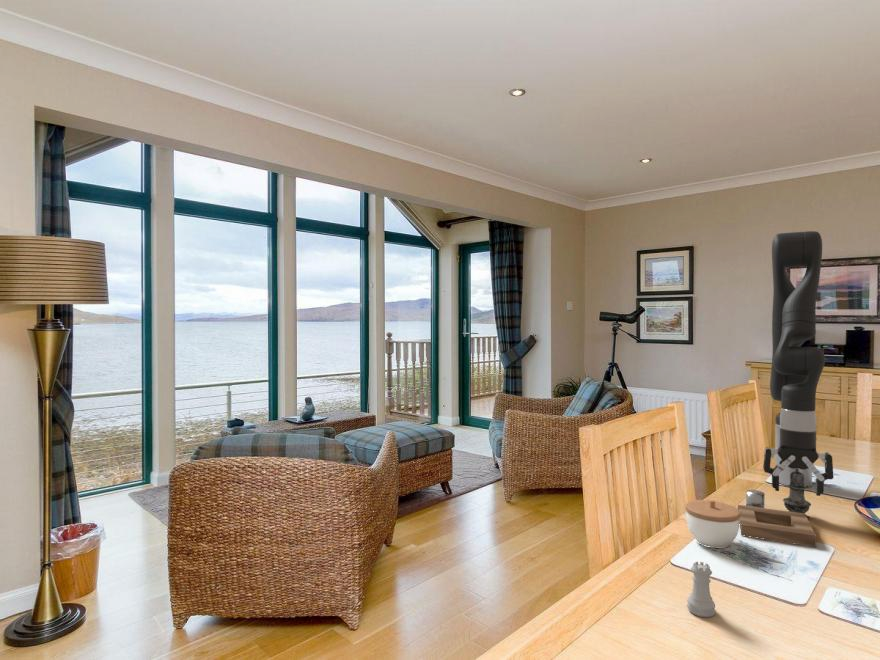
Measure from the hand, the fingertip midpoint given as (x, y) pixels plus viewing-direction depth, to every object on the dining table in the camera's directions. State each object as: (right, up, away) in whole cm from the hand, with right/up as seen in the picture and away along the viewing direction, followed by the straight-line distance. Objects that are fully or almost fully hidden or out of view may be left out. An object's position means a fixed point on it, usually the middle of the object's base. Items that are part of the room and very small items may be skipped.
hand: (796, 492), depth 132 cm
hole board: (-11, -6, -8) cm, 14 cm away
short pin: (-8, -6, +4) cm, 11 cm away
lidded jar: (-28, -7, -14) cm, 33 cm away
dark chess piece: (0, -6, 0) cm, 6 cm away
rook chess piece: (-44, -8, -41) cm, 61 cm away
